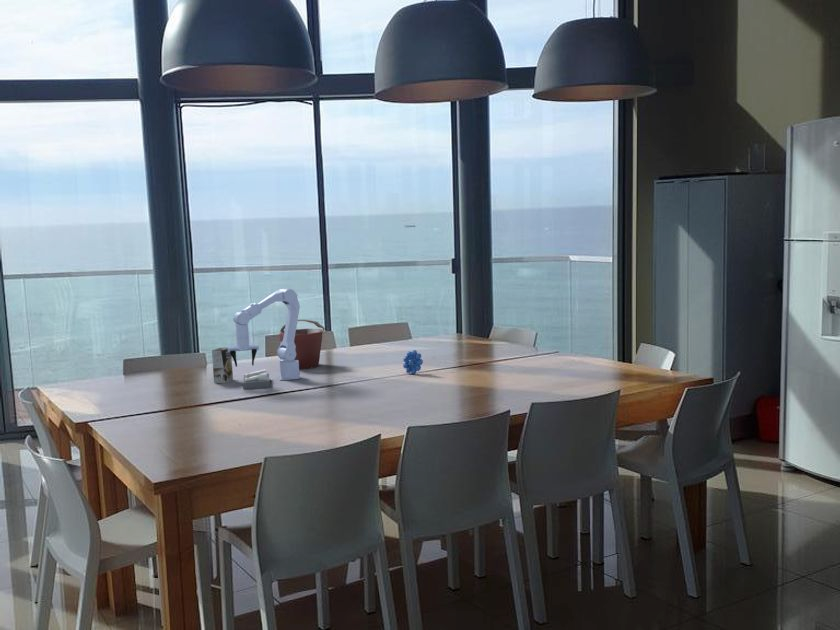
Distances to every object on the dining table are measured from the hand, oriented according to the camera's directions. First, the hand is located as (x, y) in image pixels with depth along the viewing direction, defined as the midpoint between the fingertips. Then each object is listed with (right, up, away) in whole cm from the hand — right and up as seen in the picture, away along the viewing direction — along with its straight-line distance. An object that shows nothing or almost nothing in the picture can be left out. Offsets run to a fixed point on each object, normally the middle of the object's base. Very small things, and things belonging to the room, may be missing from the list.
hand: (244, 365), depth 395 cm
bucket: (+22, -3, +45) cm, 50 cm away
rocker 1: (+4, -4, +7) cm, 9 cm away
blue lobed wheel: (+81, -5, +13) cm, 82 cm away
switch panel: (+5, -9, +2) cm, 11 cm away
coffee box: (-13, -9, +12) cm, 20 cm away
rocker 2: (+6, -6, -4) cm, 9 cm away
